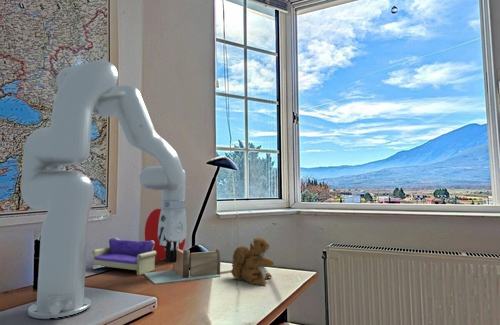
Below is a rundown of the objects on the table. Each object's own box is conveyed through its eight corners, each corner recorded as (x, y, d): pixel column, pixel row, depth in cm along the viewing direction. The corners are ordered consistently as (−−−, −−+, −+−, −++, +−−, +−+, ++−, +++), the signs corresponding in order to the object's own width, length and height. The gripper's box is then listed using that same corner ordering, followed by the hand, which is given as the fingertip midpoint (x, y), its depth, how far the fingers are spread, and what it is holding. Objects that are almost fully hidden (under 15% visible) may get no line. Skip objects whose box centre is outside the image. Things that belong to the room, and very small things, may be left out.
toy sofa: (90, 270, 120) (91, 239, 121) (109, 265, 128) (110, 236, 129) (139, 276, 112) (140, 244, 113) (156, 271, 120) (157, 240, 121)
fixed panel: (221, 274, 115) (221, 248, 116) (183, 279, 109) (184, 251, 109) (218, 273, 117) (219, 247, 117) (181, 277, 110) (182, 250, 111)
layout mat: (220, 276, 113) (220, 275, 113) (154, 284, 102) (154, 283, 102) (203, 267, 125) (203, 266, 125) (143, 274, 114) (143, 272, 114)
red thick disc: (184, 262, 134) (186, 209, 136) (171, 264, 130) (173, 209, 131) (156, 255, 148) (157, 207, 149) (143, 256, 143) (145, 207, 145)
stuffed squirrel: (266, 286, 102) (267, 240, 103) (223, 281, 108) (224, 237, 109) (277, 278, 111) (277, 236, 112) (236, 274, 117) (237, 234, 118)
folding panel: (182, 275, 111) (182, 250, 112) (172, 269, 120) (173, 245, 121) (186, 275, 112) (187, 249, 112) (177, 268, 121) (177, 245, 121)
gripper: (167, 206, 108) (165, 267, 106) (195, 205, 121) (193, 259, 120) (148, 205, 111) (146, 265, 109) (177, 204, 125) (175, 257, 123)
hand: (170, 262), depth 115 cm, fingers closed
